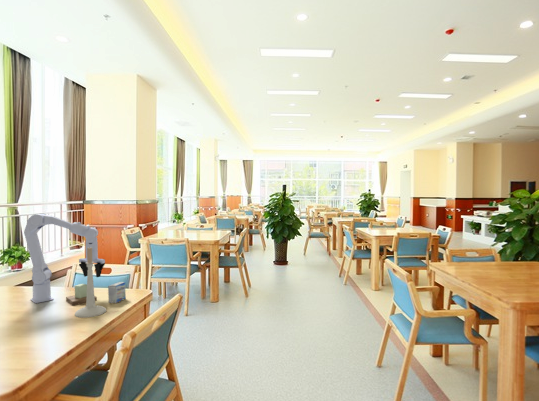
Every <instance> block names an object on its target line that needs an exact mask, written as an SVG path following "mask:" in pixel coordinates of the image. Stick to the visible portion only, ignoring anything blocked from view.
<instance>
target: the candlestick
mask: <svg viewBox="0 0 539 401" xmlns="http://www.w3.org/2000/svg"><path fill="white" fill-rule="evenodd" d="M86 264H87V267H88V274H87V276H86V277H87V278H86V279H87V280H86V284H87V300H86V303H85V304H86V305H85V306H83V307H81V308H79V309H77V310H76V311H75V312H74V317H76V318H81V319H82V318H83V319H85V318H86V319H87V318H92V317H97V316H101V315H104V314H105V313H106V312H107V307H104V306H102V305H98V304H97V305H96V301H95V298H94V296H95V286H94V274H93V273H94V272H93V271H94V270H93V267H94V264H95V263H94V262H92V248H90V247H89V248H87V262H86Z"/></svg>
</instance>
